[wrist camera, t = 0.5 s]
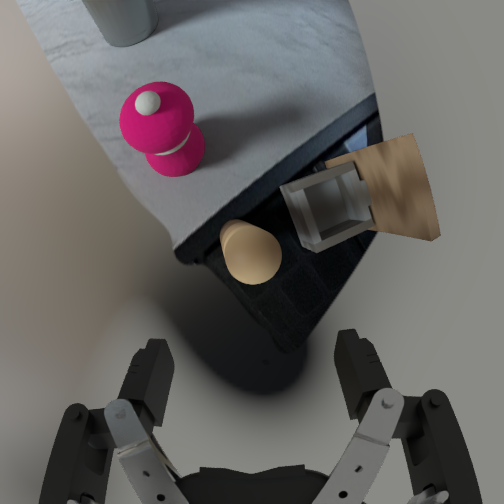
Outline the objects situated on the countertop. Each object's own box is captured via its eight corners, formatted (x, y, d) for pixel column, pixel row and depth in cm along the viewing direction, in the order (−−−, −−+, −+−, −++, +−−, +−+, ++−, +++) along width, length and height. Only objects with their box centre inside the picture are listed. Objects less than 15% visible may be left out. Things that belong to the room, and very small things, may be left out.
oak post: (214, 226, 36) (216, 242, 21) (244, 214, 37) (269, 219, 21) (227, 256, 37) (238, 292, 22) (256, 243, 38) (289, 270, 22)
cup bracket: (269, 181, 36) (320, 161, 19) (332, 159, 37) (412, 133, 20) (295, 248, 38) (360, 282, 21) (355, 222, 39) (440, 235, 22)
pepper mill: (147, 138, 33) (90, 77, 13) (198, 122, 34) (187, 42, 14) (160, 187, 34) (104, 166, 15) (211, 171, 35) (212, 129, 16)
